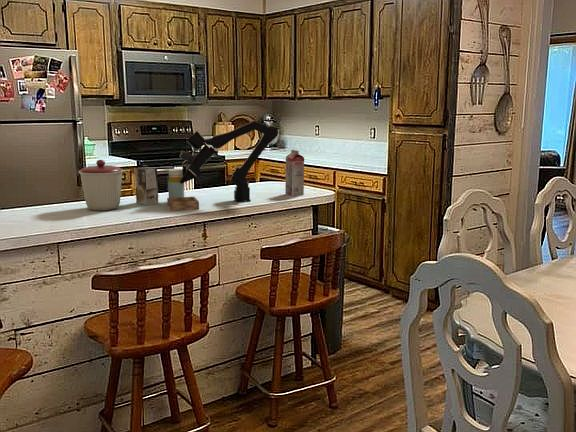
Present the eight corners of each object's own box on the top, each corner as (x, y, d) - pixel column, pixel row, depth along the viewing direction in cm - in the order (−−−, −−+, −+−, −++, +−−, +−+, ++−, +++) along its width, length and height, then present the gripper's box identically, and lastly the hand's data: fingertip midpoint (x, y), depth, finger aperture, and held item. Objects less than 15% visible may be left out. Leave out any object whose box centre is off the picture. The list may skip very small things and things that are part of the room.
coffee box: (159, 203, 253) (157, 168, 250) (146, 205, 249) (145, 169, 245) (147, 201, 259) (146, 166, 256) (135, 202, 255) (133, 167, 251)
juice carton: (292, 196, 276) (292, 151, 271) (285, 193, 282) (285, 149, 277) (303, 194, 279) (304, 150, 275) (296, 192, 285) (297, 149, 280)
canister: (94, 214, 229) (91, 163, 225) (73, 208, 241) (69, 159, 237) (133, 208, 242) (131, 159, 238) (111, 203, 254) (108, 156, 250)
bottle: (180, 204, 253) (179, 171, 250) (166, 203, 255) (165, 170, 251) (186, 201, 260) (185, 169, 257) (172, 200, 261) (171, 168, 258)
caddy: (194, 204, 253) (194, 196, 252) (199, 209, 242) (198, 201, 241) (167, 205, 249) (167, 197, 248) (170, 210, 238) (170, 202, 237)
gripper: (186, 142, 263) (163, 166, 261) (193, 146, 245) (168, 172, 244) (203, 159, 267) (180, 183, 266) (211, 164, 249) (186, 189, 248)
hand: (178, 181), depth 256 cm, fingers open, 9 cm apart
